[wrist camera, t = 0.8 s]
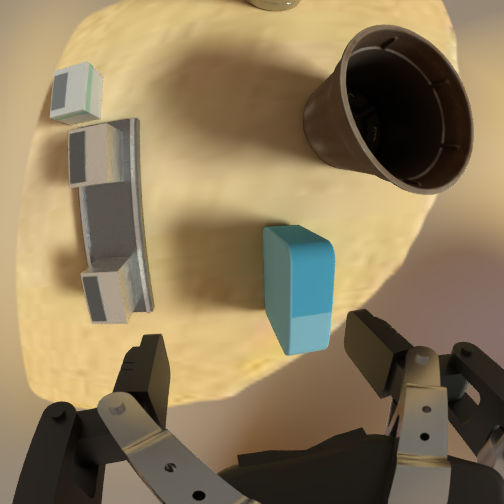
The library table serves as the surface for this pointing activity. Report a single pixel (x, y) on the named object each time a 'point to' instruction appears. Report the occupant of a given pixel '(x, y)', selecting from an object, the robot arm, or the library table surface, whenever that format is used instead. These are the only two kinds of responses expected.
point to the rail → (111, 219)
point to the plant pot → (393, 112)
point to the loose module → (76, 94)
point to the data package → (298, 287)
